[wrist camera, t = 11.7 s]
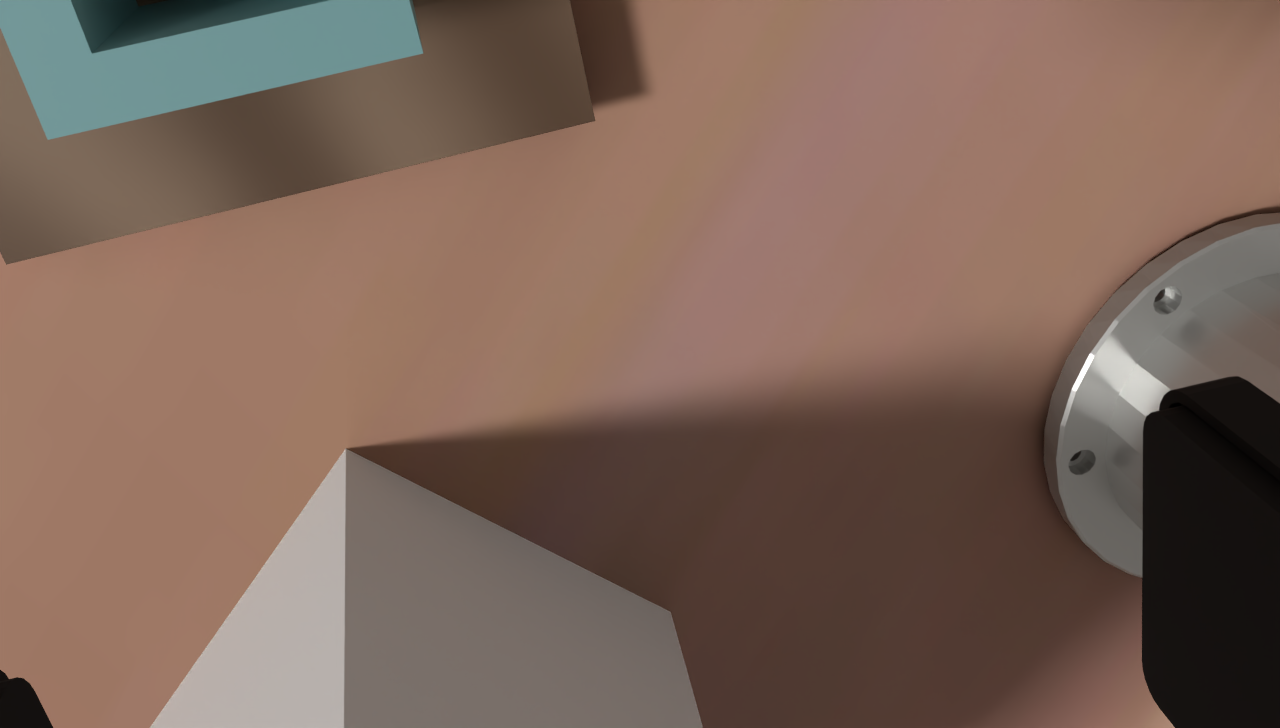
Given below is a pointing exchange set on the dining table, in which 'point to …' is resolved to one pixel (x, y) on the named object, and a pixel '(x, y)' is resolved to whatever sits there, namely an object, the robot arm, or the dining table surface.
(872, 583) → the dining table surface
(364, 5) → the collar
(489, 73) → the post base
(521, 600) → the milk
